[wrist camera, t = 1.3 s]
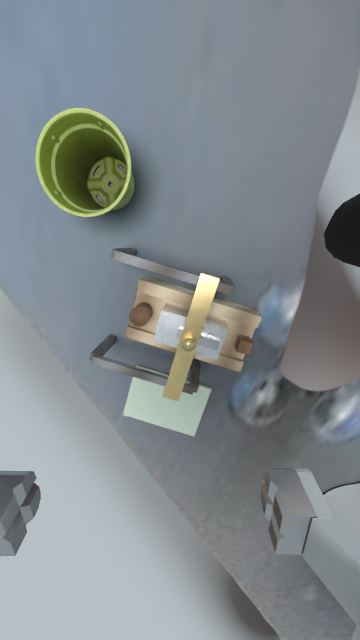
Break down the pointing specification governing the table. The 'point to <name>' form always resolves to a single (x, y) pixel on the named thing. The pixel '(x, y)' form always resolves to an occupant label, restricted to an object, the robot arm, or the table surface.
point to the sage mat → (166, 405)
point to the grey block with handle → (174, 323)
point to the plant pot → (84, 163)
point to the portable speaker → (345, 232)
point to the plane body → (159, 292)
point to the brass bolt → (190, 335)
